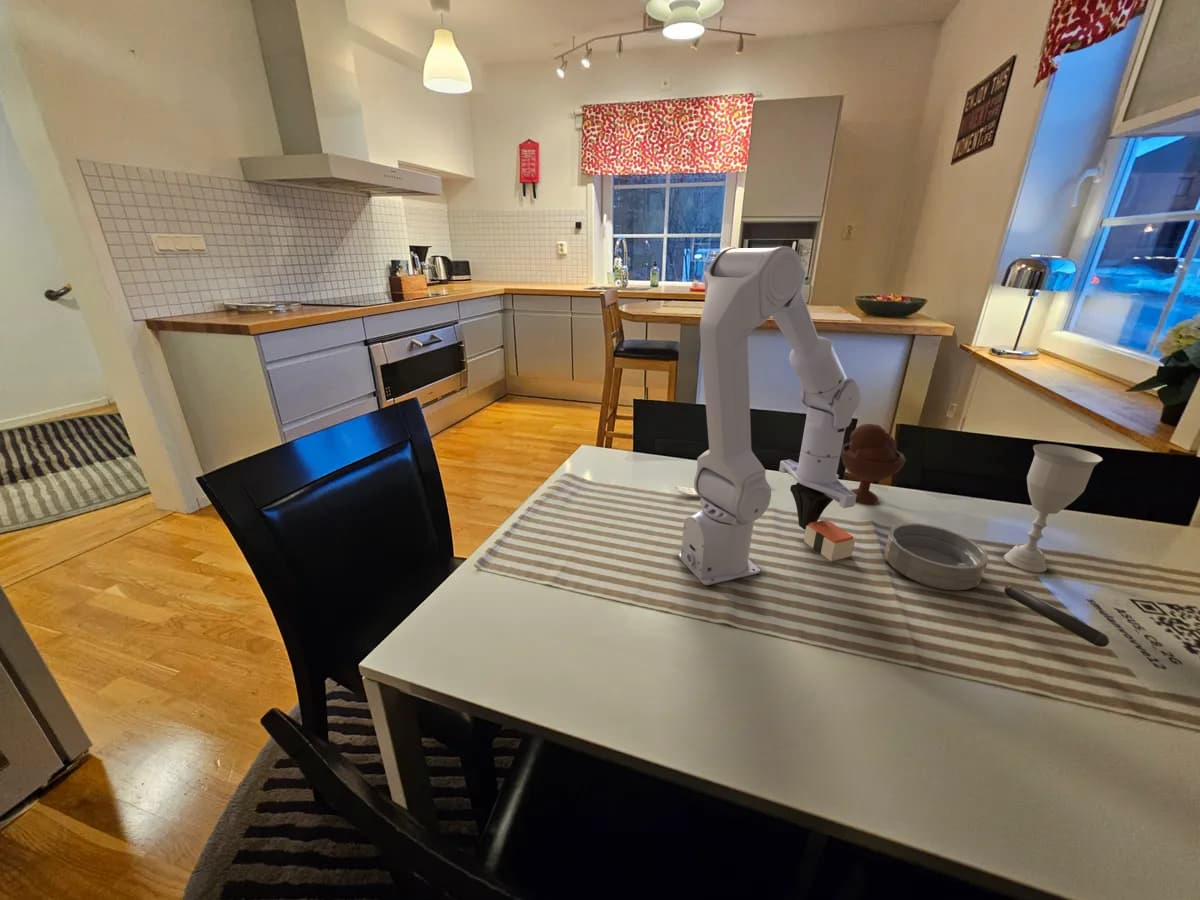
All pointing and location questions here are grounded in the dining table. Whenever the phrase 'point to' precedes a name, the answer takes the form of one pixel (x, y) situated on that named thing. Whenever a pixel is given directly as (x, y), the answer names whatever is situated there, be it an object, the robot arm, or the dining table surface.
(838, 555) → the sushi
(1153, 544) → the dining table surface
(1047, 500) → the chalice
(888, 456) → the ice cream bowl
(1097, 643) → the pan handle
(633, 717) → the dining table surface
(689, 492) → the cooking utensil
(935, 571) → the pan
